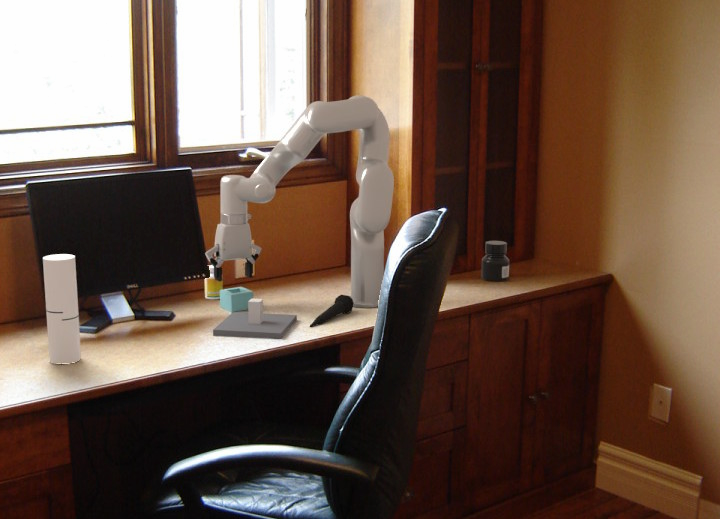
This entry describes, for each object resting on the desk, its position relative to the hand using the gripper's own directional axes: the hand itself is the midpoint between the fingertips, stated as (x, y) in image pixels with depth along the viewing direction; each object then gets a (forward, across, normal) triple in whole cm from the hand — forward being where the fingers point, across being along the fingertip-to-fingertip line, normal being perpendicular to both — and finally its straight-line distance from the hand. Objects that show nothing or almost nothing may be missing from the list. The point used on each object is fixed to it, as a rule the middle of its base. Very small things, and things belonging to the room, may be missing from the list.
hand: (233, 278), depth 275 cm
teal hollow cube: (+8, -1, 0) cm, 9 cm away
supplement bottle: (+9, -1, -14) cm, 16 cm away
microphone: (+8, -16, +25) cm, 31 cm away
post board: (+8, +5, +22) cm, 24 cm away
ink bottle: (+6, -87, +16) cm, 89 cm away
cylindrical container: (+10, +56, +20) cm, 60 cm away
